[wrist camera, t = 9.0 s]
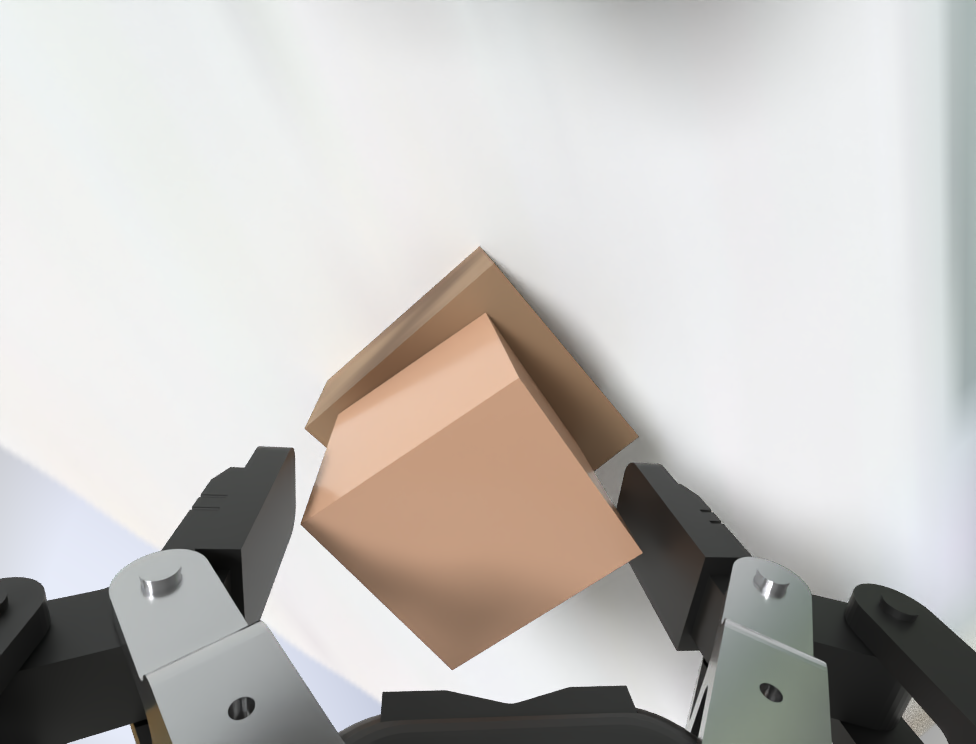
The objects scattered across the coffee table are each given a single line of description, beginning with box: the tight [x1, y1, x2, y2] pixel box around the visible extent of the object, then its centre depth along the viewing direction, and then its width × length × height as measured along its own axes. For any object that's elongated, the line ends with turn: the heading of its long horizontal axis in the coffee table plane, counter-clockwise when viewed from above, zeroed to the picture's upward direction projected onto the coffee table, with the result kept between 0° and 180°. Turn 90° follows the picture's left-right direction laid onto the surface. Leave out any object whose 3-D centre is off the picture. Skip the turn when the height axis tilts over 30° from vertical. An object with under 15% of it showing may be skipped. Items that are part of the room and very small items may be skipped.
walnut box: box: [305, 246, 639, 471], centre depth 17 cm, size 7×7×4 cm
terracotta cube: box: [301, 313, 643, 670], centre depth 13 cm, size 5×5×5 cm
